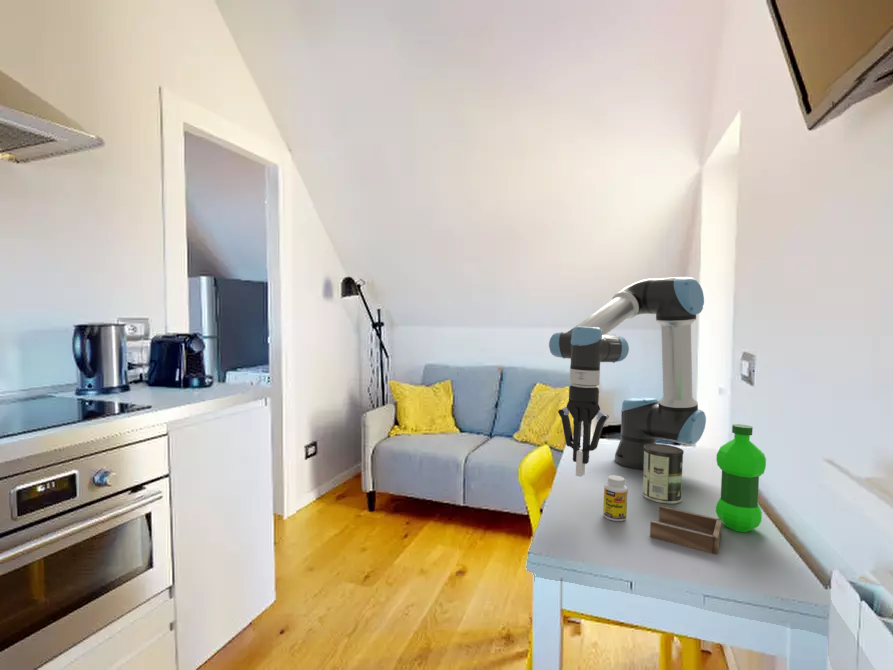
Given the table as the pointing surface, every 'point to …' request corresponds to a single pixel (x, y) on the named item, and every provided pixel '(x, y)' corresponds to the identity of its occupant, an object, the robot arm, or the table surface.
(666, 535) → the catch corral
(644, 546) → the table surface
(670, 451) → the coffee can
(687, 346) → the robot arm
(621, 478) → the supplement bottle
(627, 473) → the table surface
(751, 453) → the plastic bottle
